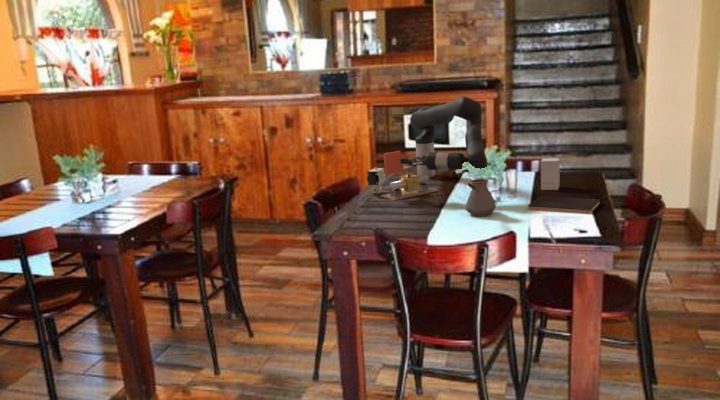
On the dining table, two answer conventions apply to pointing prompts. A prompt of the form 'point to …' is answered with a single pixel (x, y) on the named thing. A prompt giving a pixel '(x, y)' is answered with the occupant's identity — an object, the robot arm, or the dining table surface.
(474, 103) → the robot arm
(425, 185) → the valve body
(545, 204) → the hardcover book
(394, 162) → the lever
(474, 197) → the coffee pot
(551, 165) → the supplement box
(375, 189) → the pneumatic valve
